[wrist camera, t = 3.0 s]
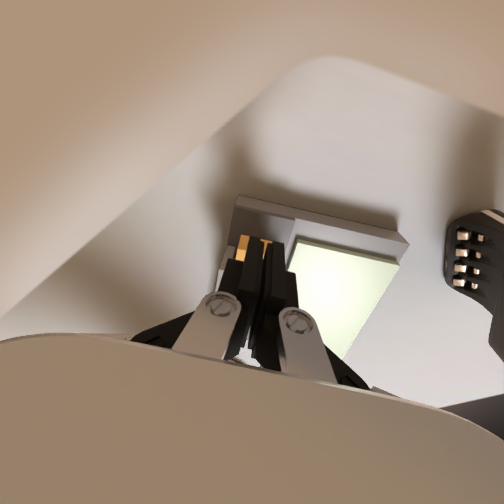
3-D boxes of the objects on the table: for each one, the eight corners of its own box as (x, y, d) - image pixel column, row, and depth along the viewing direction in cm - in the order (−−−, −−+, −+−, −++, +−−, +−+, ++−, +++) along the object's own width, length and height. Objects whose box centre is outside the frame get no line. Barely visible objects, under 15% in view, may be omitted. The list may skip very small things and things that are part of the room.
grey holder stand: (335, 342, 26) (348, 396, 21) (216, 316, 26) (201, 366, 21) (398, 231, 19) (437, 274, 15) (238, 195, 19) (225, 226, 14)
